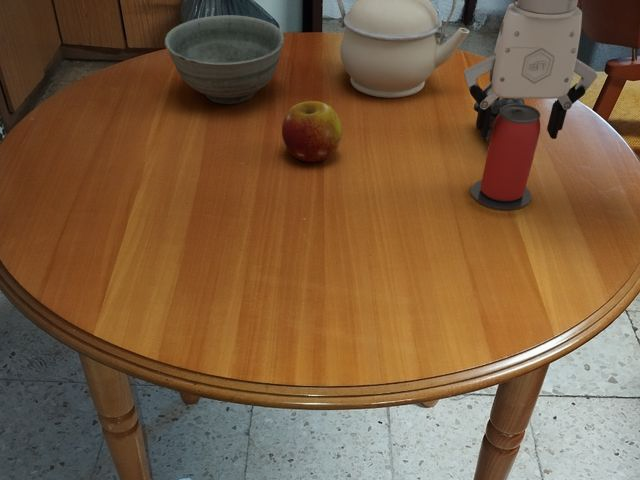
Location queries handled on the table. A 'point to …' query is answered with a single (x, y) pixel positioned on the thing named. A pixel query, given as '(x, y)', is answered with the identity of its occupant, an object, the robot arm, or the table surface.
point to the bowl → (226, 55)
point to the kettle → (394, 45)
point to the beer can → (511, 152)
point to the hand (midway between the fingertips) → (516, 134)
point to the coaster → (499, 205)
